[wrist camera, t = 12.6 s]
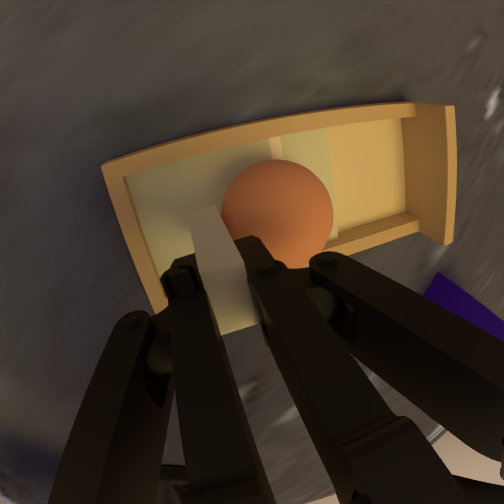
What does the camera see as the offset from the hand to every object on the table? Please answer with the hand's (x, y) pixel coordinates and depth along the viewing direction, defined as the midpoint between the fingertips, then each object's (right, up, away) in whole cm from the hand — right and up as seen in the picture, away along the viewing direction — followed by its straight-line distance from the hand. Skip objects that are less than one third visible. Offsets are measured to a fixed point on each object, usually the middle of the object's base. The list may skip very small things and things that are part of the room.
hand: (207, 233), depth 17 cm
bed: (+5, +3, +4) cm, 7 cm away
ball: (+4, +1, 0) cm, 4 cm away
